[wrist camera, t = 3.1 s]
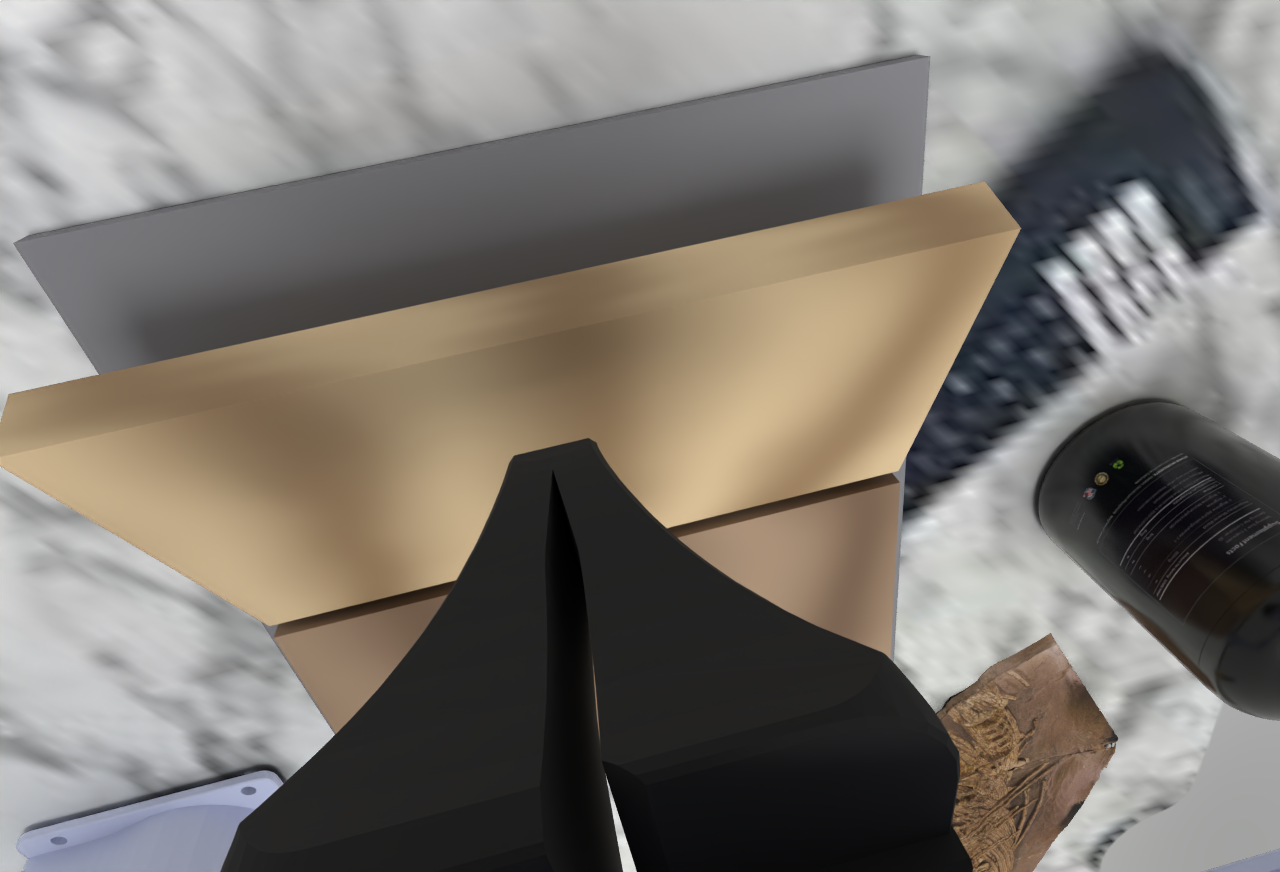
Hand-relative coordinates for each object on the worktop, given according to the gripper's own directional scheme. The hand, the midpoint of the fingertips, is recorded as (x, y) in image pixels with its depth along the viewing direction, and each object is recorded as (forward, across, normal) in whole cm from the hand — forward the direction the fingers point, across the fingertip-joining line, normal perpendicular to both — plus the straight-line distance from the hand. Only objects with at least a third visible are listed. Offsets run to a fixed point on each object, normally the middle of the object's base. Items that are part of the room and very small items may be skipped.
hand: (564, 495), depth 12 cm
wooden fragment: (+10, -19, +34) cm, 40 cm away
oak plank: (+7, 0, +2) cm, 7 cm away
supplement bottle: (+10, -20, +12) cm, 25 cm away
